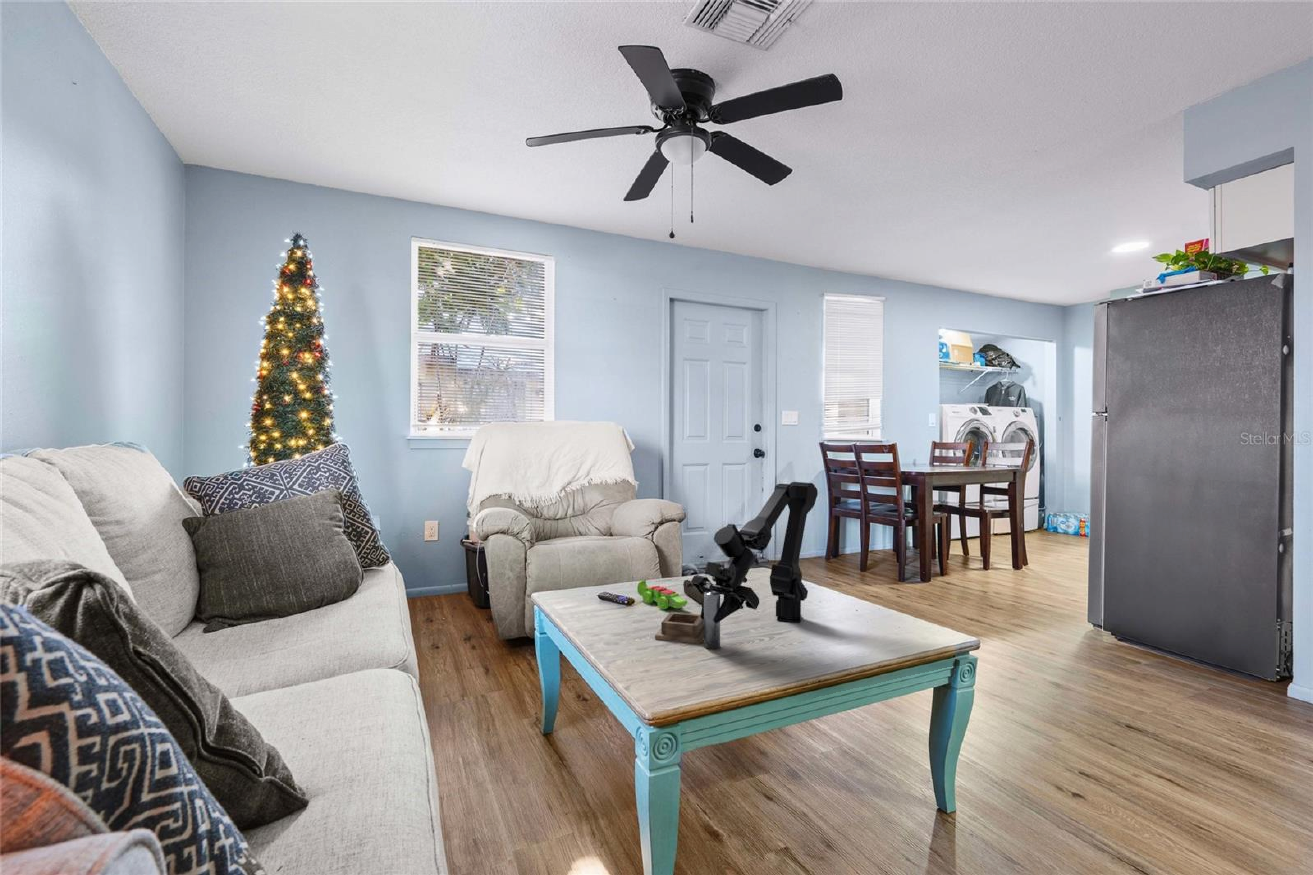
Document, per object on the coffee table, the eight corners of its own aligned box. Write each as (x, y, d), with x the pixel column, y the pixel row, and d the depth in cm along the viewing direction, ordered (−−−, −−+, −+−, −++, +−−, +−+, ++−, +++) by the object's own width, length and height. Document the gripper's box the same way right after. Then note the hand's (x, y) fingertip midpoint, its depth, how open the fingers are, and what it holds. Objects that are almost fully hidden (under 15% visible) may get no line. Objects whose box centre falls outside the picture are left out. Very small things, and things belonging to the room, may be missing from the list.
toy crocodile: (691, 610, 178) (691, 590, 178) (673, 615, 174) (673, 594, 174) (650, 596, 193) (650, 577, 193) (634, 600, 189) (634, 580, 189)
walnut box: (710, 628, 161) (710, 613, 161) (701, 643, 150) (701, 627, 150) (667, 624, 165) (667, 610, 165) (655, 639, 153) (655, 623, 153)
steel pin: (721, 643, 149) (721, 591, 149) (718, 649, 145) (718, 596, 145) (705, 642, 150) (705, 590, 150) (702, 647, 146) (702, 594, 146)
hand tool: (714, 607, 182) (714, 592, 182) (702, 608, 181) (702, 593, 181) (692, 592, 200) (692, 578, 200) (680, 592, 199) (681, 578, 199)
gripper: (695, 544, 157) (665, 594, 149) (752, 554, 143) (722, 610, 136) (715, 569, 162) (686, 618, 155) (771, 582, 149) (743, 636, 141)
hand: (708, 620), depth 146 cm, fingers closed on steel pin, 4 cm apart
